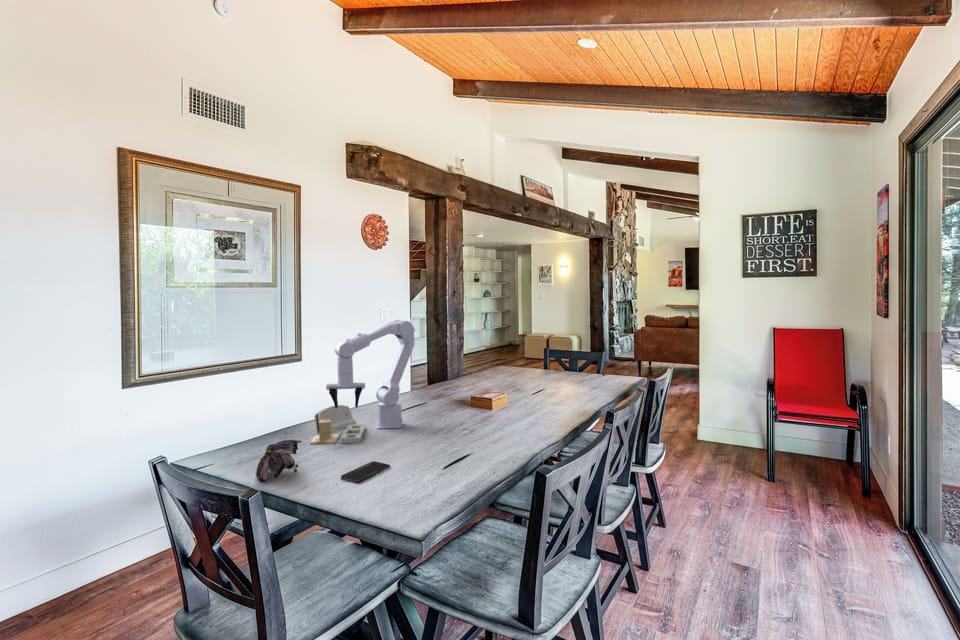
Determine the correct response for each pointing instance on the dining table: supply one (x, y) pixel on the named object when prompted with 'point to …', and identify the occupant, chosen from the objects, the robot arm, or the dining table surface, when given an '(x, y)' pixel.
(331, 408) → the grey rounded upright block
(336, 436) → the birch pad
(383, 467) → the phone
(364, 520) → the dining table surface
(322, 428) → the brass peg
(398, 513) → the dining table surface
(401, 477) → the dining table surface
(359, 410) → the dining table surface
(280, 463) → the decorative flower
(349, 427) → the grey peg hole board
